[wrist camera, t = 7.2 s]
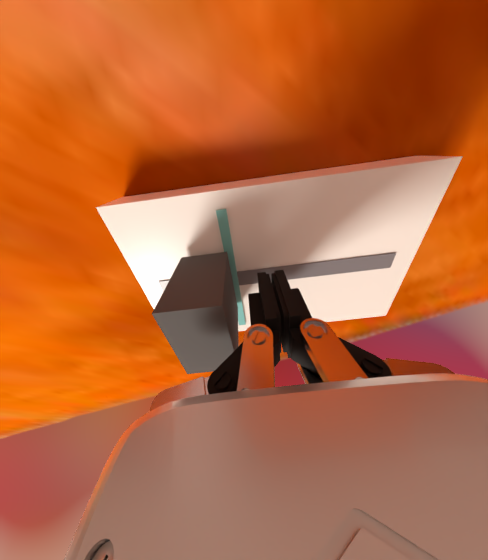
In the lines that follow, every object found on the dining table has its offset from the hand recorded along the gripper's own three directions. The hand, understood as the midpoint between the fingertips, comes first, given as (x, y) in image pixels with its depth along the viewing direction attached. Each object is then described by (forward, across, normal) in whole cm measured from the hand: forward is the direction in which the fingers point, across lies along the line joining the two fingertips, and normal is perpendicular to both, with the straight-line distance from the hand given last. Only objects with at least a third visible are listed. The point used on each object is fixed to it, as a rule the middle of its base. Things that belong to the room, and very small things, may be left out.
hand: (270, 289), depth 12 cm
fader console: (+5, 0, 0) cm, 5 cm away
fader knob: (+1, +4, 0) cm, 4 cm away
